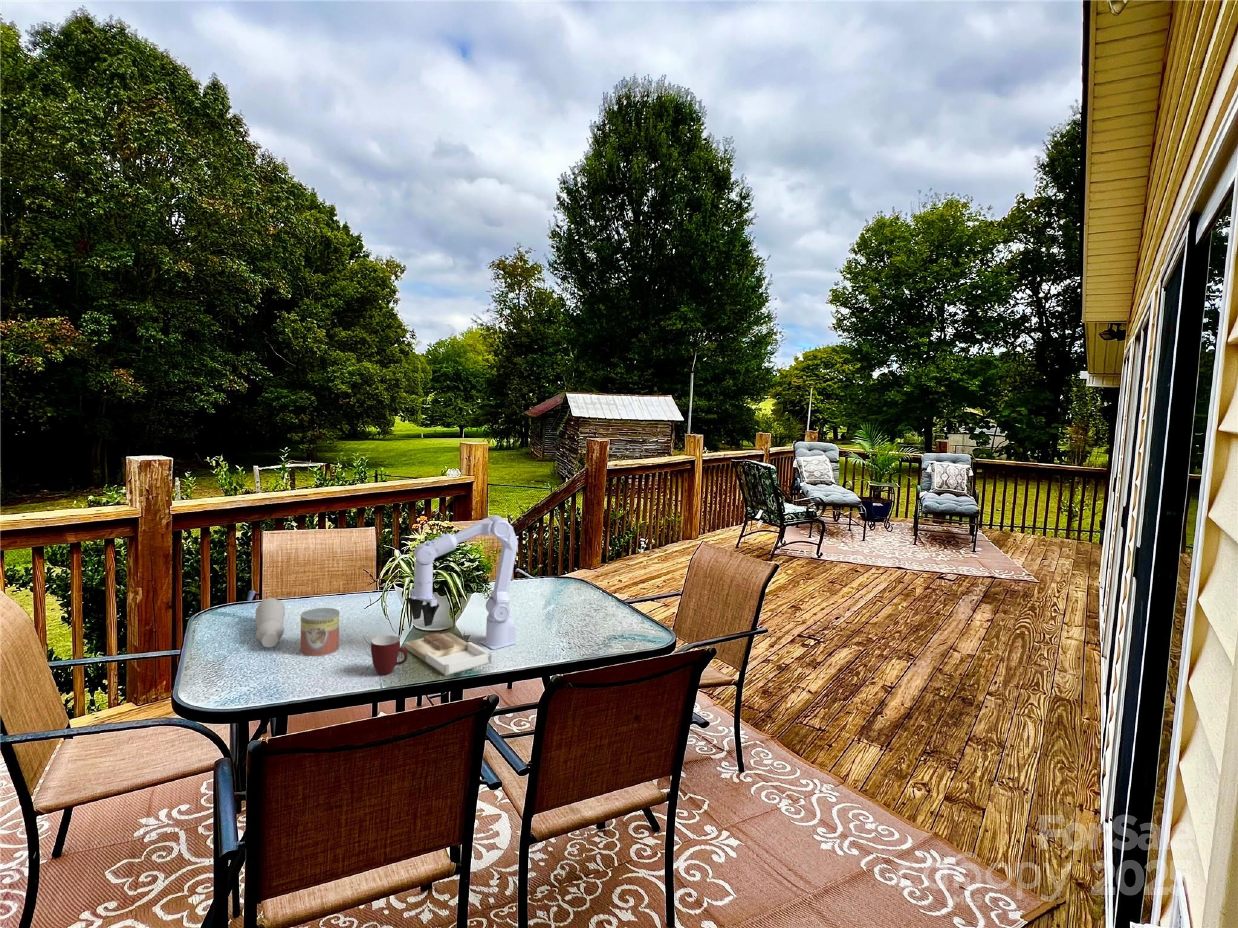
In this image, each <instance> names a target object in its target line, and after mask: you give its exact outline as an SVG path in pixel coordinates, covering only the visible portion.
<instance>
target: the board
mask: <svg viewBox="0 0 1238 928" xmlns="http://www.w3.org/2000/svg"><path fill="white" fill-rule="evenodd" d="M439 634H440V633H439ZM440 635H442V636H443V637H445V639H446V638H447V639H448V640H450V641H452V642H453V643H454V647H453V648H449V649H445V650H441V651H439V650H438V649H436V648H435V647H433V646H432V645H430V644H428V643H427V642H425V641H424V637H422V638H418V639H413V640H410V641H406V642H404V643H405V644H404V649H405V650H406V651H409V652H410V653H411V654H413V655H415V656H416V657H417V658H418V659H420V660H421V661H423V662H425V663H426V653H428V652H430V653H431V654H433V655H435V656H436V657H438V658H439V657H443V656H447V655H451V654H455V653H458V652H462V651H466V650H467V643H468V642H466V641H465V640H463V639H461V638H460V637H458V636H456V635H455V634H453V633H451V632H450V631H448V632H444V633H441V634H440Z"/></svg>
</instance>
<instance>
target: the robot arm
mask: <svg viewBox="0 0 1238 928" xmlns="http://www.w3.org/2000/svg"><path fill="white" fill-rule="evenodd" d="M481 535H482V536H486V537H491V535H492V536H494V537H495V538H496V539H497V540H498V541H499V543H500V544H501V550H500V556H499V561H498V565H497V571H496V575H495V581H494V586H493V590H491V592H490V596H489V598H488V600H486V603H485V609H486V611H487V612H488V614H487V616H486V628H485V629H486V630H485V631H486V632H485V640H482V641H481V640H480V644H482V645H484V646H486V647H487V648H489V649H491V650H498V649H502V648H505V647H509V646H513V645H516V644H517V642H516V623H515V620H514V618H513V616H510V615H511V609H510V602H511V601H510V596H509V592H510V587H511V581H512V577H513V576H512V575H513V571H514V566H515V561H516V555H517V550H518V545H519V540H518V538H517V536H516V533H515V530H514V526H512V525H511V524H510V523H509V522H508V521H507V520H505V519H504V518H503V517H501V515H497V514H494V515H493V514H492V515H491V516H490V517H486V518H483V519H481V520H480V521H477V522H476V523H474V524H472V525H470V526H468V527H466V528H464V529H462V530H459V531H457V532H456V533H455V534H452V533H449V532H447V533H444V532H443V533H441V534H440V536H439V537H436V538H434V539H432V540H430V539H429V540H426V543H424V542H423V543H419V544H418V545H417V546H416V547H415V548H414V551H413V556H414V558H415V562H414V574H413V588H411V589H409V596H410V597H407V598H406V601H407V602H408V605H409V607H410V610H411V611H410V612H411V615H412V618H413V620H419V619H421V617H422V615H423V624H424V627H429V626H432V625H433V622H434V618H435V614H436V613H437V611H438V609H439V607H440V604H439V603H438V599H437V598H436V597H435V595H434V593H433V586H434V585H433V583H434V577H433V576H434V575H433V573H434V567H433V562H434V561H435V559H436V558H438V557H442V556H443V555H445V554H448V553H450V552H451V551H454V550H456V548H457V546H458V544H461V543H463V542H465V541H468V540H470V539H473V538H476V537H478V536H481ZM424 603H425V604H424Z"/></svg>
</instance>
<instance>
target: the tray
mask: <svg viewBox="0 0 1238 928" xmlns="http://www.w3.org/2000/svg"><path fill="white" fill-rule="evenodd" d="M425 663H426V664H428V665H429V666H430V667H432V668H433V669H435V670H436V671H437V672H439V673H441V674H442V675H443V676H445V677H447V676H451V675H455V674H457V673H460V672H465V671H467V670H472V669H475V668H479V667H482V666H486V665H489V664H492V653H491V652H489V651H487V650H485V649H484V648H482V647H480V646H479V645H477V644H475V643H473V641H472V642H471V641H469V642H467V650H466V651H462V652H458V653H455V654H451V655H447V656H443V657H439V658H438V657H436V656H435V655H433V654H431V653H430V652H428V653H426V662H425Z"/></svg>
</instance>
